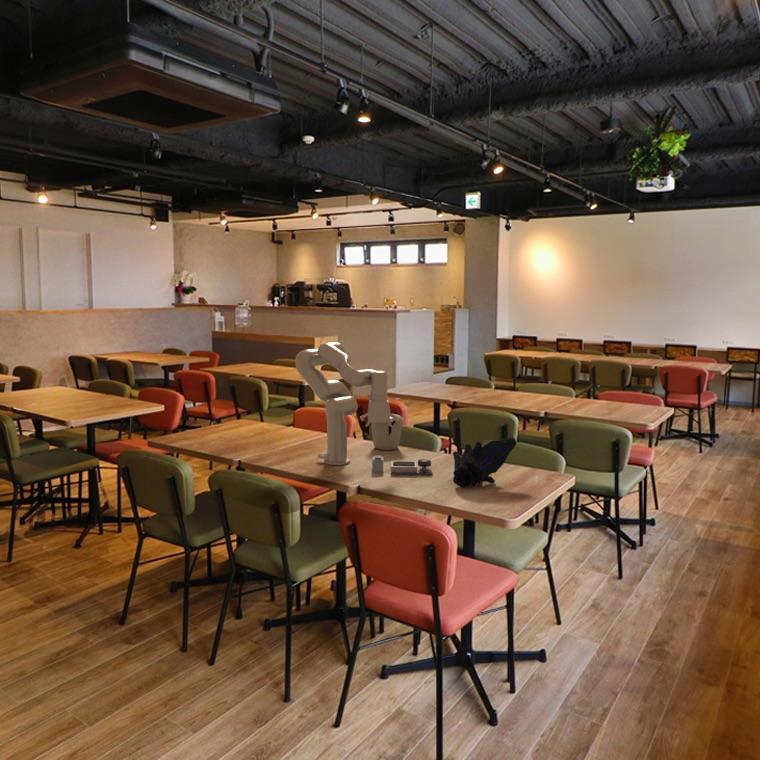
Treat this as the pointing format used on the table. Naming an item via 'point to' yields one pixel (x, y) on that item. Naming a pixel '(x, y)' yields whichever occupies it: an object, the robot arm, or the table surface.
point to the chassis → (409, 468)
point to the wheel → (424, 462)
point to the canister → (382, 437)
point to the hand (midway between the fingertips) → (378, 434)
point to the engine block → (377, 464)
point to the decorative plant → (481, 461)
